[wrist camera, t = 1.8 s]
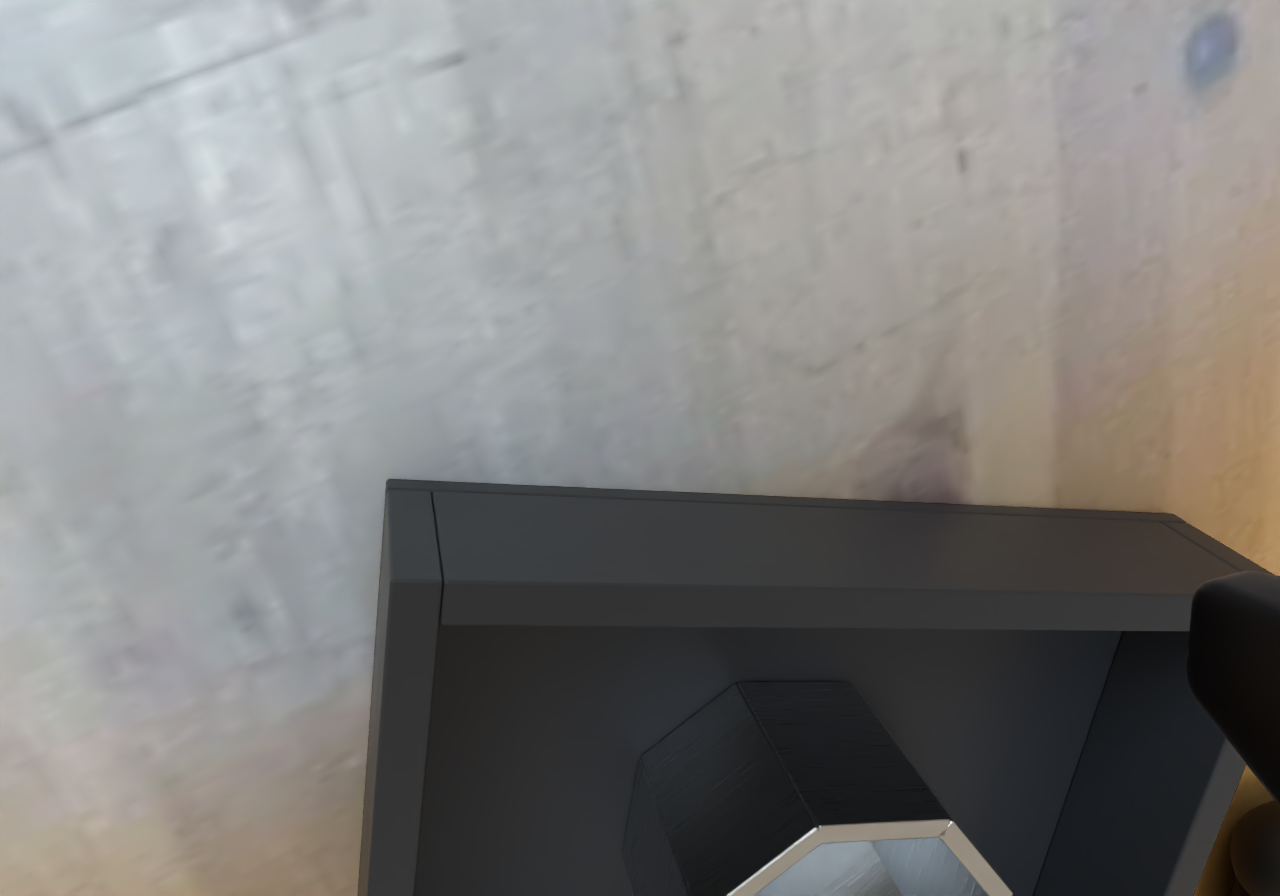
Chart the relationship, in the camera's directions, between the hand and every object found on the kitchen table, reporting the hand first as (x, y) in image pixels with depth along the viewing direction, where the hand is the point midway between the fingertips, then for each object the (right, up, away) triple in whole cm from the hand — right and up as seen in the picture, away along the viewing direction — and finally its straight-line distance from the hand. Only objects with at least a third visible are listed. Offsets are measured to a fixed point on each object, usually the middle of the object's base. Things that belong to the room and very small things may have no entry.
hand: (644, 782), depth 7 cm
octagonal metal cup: (+3, -6, +16) cm, 17 cm away
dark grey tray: (+3, -5, +16) cm, 18 cm away
